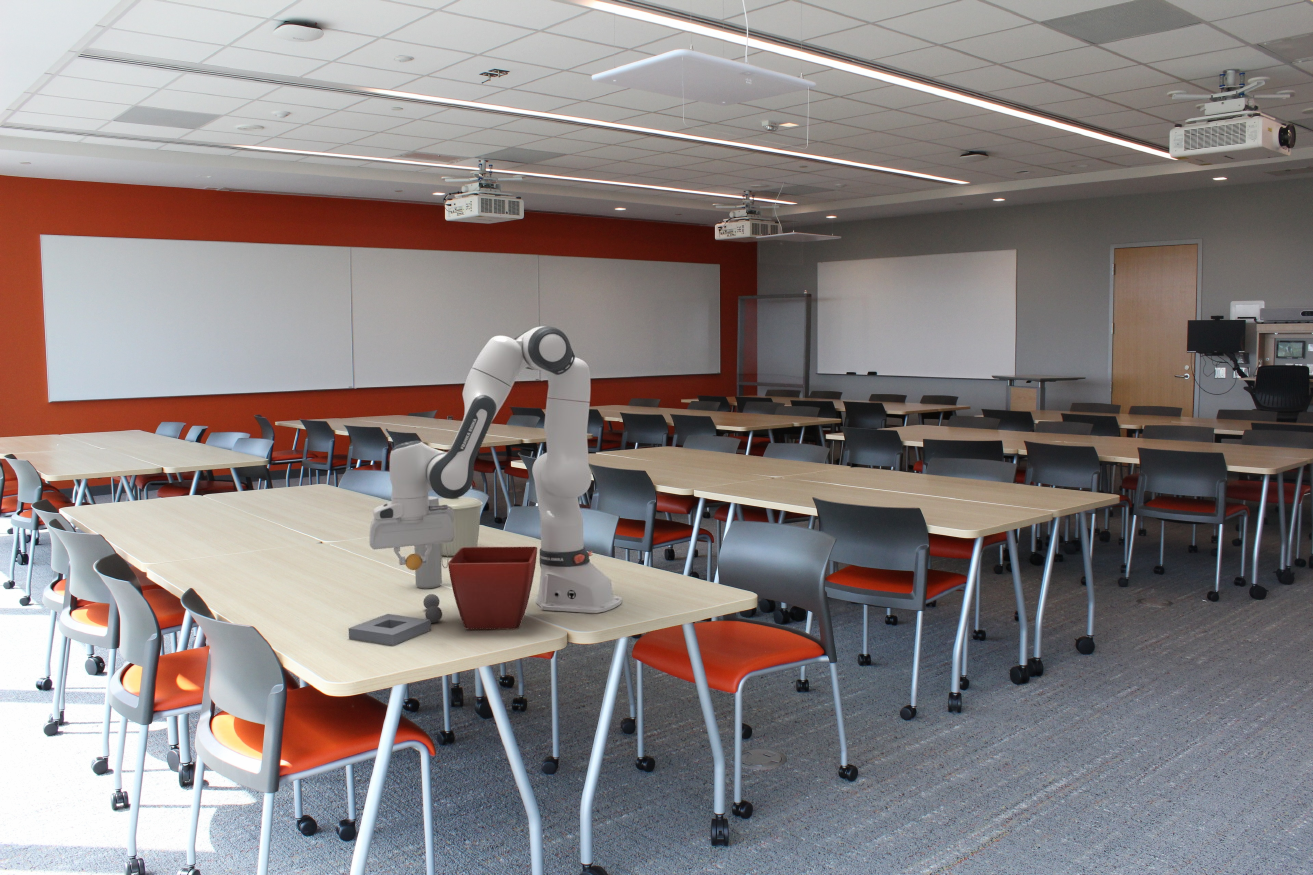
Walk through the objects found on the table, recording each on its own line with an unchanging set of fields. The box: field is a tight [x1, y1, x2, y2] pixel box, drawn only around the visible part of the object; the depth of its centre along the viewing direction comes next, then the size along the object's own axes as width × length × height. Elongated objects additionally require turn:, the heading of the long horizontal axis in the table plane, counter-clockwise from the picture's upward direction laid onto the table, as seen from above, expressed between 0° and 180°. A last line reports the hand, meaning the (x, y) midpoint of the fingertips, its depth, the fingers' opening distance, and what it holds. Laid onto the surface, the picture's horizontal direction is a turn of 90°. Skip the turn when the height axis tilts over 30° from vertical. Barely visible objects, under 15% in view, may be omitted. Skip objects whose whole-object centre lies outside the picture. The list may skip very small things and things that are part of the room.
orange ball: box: [405, 553, 422, 571], centre depth 231 cm, size 4×4×4 cm
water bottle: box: [414, 495, 449, 590], centre depth 264 cm, size 9×8×25 cm
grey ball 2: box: [424, 606, 443, 624], centre depth 228 cm, size 4×4×4 cm
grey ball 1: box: [423, 593, 441, 610], centre depth 240 cm, size 4×4×4 cm
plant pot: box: [447, 546, 538, 630], centre depth 227 cm, size 19×19×17 cm
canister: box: [438, 496, 484, 557], centre depth 307 cm, size 18×18×21 cm
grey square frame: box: [348, 613, 432, 646], centre depth 219 cm, size 13×13×2 cm
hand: (413, 563), depth 231 cm, fingers closed on orange ball, 4 cm apart
